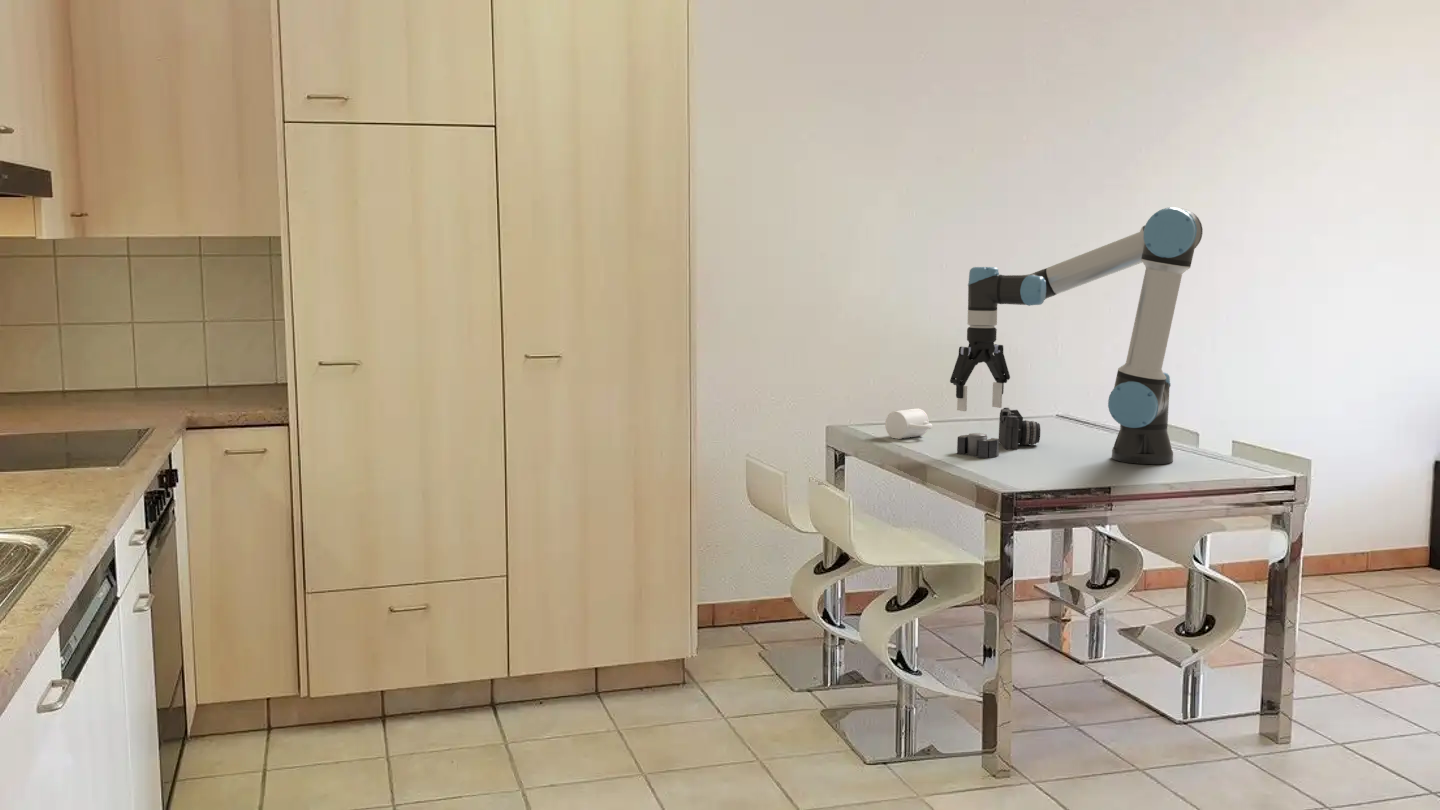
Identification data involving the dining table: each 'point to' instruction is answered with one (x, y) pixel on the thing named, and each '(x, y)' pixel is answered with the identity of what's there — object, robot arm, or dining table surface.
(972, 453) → the grey cylinder block
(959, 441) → the clustered grey blocks
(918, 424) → the mug
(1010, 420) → the camera
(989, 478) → the dining table surface
